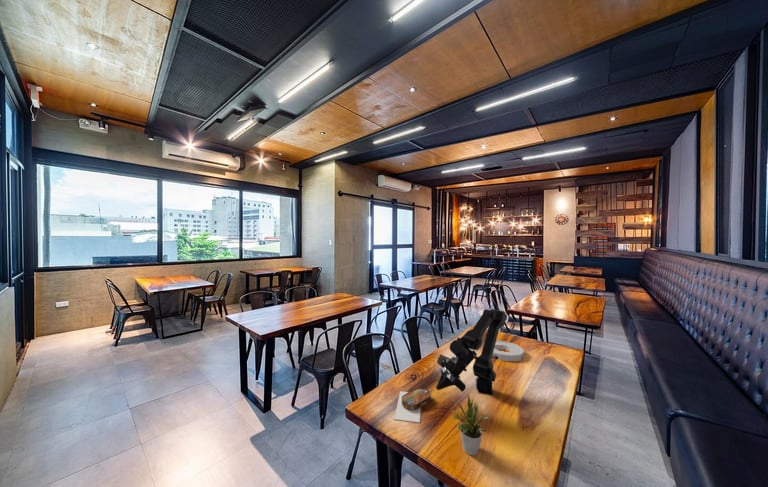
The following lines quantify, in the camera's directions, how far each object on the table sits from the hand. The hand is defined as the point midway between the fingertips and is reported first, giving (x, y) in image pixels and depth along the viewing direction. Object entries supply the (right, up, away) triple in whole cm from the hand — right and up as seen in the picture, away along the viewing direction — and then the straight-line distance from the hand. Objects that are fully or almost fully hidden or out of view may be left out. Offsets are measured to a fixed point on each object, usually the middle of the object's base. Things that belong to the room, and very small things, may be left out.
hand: (436, 389), depth 118 cm
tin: (-5, -6, 0) cm, 8 cm away
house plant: (+7, -9, -22) cm, 24 cm away
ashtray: (+52, -7, +56) cm, 76 cm away
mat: (-12, -8, +1) cm, 14 cm away
